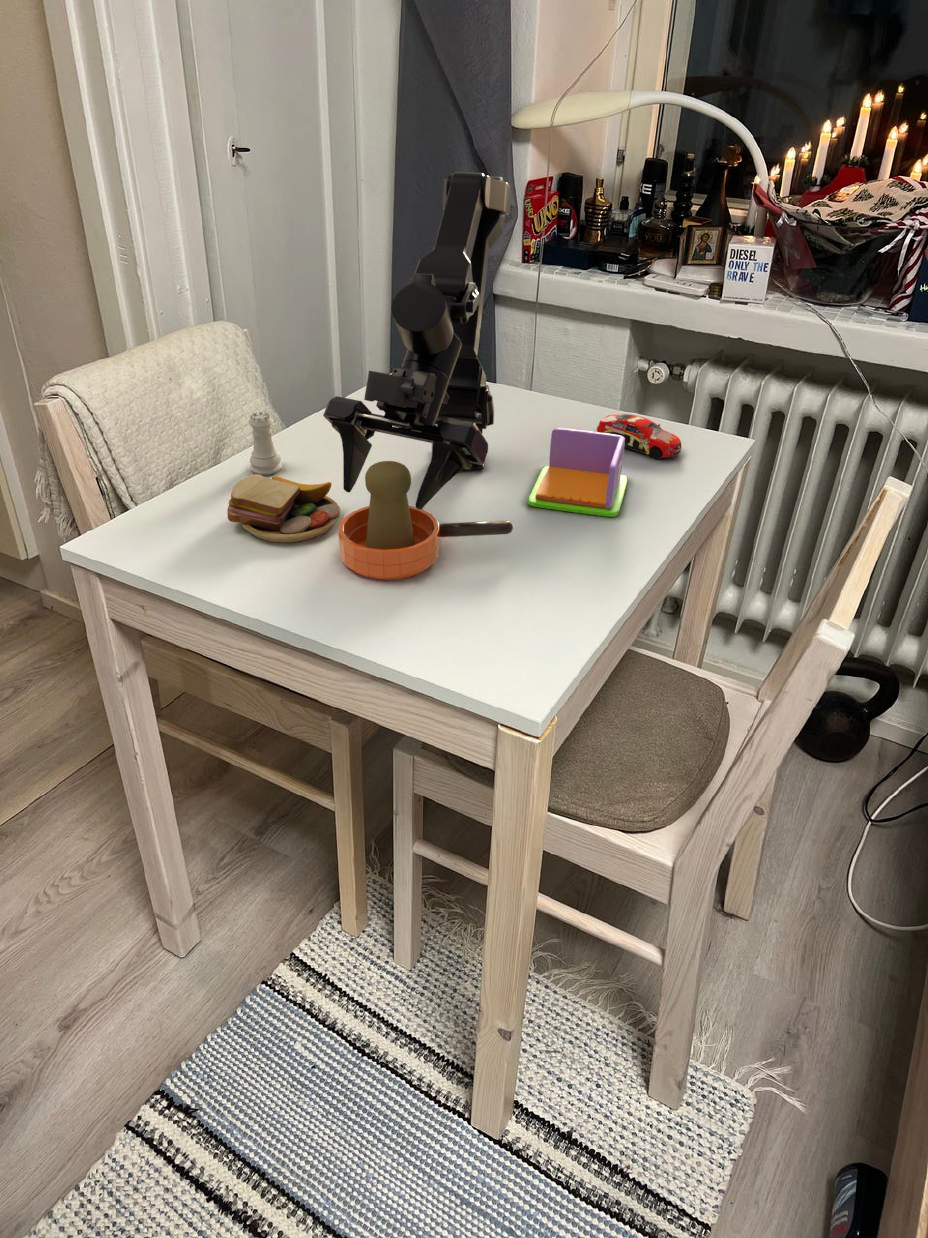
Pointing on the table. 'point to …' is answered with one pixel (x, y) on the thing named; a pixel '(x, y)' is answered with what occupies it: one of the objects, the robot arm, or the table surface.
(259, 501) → the toy sandwich meal
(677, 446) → the race car
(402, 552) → the pan
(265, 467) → the rook chess piece
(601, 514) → the toy room diorama
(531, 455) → the table surface
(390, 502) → the cork
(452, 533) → the pan handle
